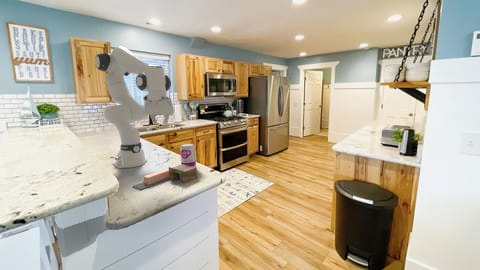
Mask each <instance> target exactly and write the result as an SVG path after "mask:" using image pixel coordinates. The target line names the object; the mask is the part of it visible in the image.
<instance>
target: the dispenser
mask: <svg viewBox="0 0 480 270" xmlns="http://www.w3.org/2000/svg"><path fill="white" fill-rule="evenodd" d="M167 168H168V169H169V177H168V178H170V179H169V180H170V181H175V180H177V179H179V182H180V183H182V184H186V183H189V182H191V181H193V180H195V179H198V170H197V166H196V167H193V166H188V165H184V164H179V165H176V166H174V167H171V166H169V167H167Z"/></svg>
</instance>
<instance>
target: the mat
mask: <svg viewBox="0 0 480 270" xmlns="http://www.w3.org/2000/svg"><path fill="white" fill-rule="evenodd" d="M169 180H170V177H168V178H165V179H163V180H160V181H157V182H155V183H152V184H146V183H144V181H143V182H139V183H137V184H134V185H132V188H134V189H136V190H139V191H142V190H145V189H147V188H150V187H154V186H155V185H158V184H161V183H163V182H166V181H169Z"/></svg>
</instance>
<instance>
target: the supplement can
mask: <svg viewBox="0 0 480 270" xmlns="http://www.w3.org/2000/svg"><path fill="white" fill-rule="evenodd" d="M179 148H180V165H182V164H184V165H188V166H193V167H197V160H196V148H195V145H194V144H193V143H184V144H180V147H179Z"/></svg>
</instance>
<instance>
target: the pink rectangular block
mask: <svg viewBox="0 0 480 270" xmlns="http://www.w3.org/2000/svg"><path fill="white" fill-rule="evenodd" d="M165 178H170V177H169V169H168V167H167V168H165V169H161V170H159V171H155V172H153V173H152V172H151V173H150V174H146V175H143V182H144V183H146V184H152V183H155V182H157V181H160V180H163V179H165Z"/></svg>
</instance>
